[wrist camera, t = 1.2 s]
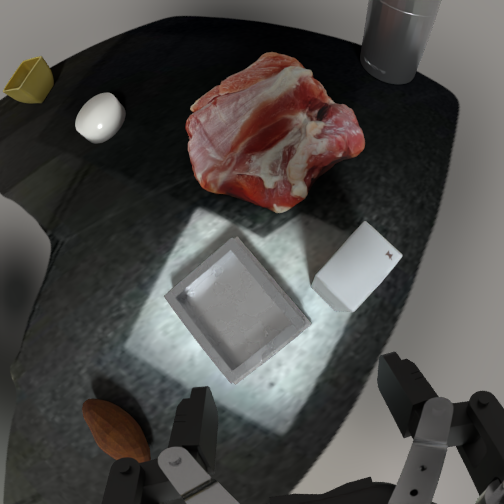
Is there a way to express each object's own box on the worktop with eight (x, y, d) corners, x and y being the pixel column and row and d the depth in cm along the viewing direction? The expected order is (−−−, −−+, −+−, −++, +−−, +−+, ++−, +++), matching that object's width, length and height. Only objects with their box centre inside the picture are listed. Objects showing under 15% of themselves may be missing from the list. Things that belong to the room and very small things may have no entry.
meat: (273, 256, 35) (264, 235, 26) (163, 153, 40) (130, 115, 31) (381, 142, 36) (401, 96, 26) (266, 65, 41) (257, 17, 31)
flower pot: (63, 77, 49) (42, 54, 40) (43, 109, 48) (18, 88, 39) (43, 80, 51) (22, 60, 42) (24, 110, 50) (1, 92, 41)
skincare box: (344, 248, 34) (366, 217, 22) (371, 274, 33) (405, 255, 21) (307, 287, 34) (313, 274, 22) (335, 313, 33) (354, 314, 21)
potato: (107, 381, 35) (78, 390, 29) (171, 441, 32) (149, 460, 26) (90, 408, 35) (61, 419, 28) (149, 465, 32) (126, 485, 26)
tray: (238, 237, 36) (232, 230, 33) (311, 323, 33) (313, 324, 30) (168, 296, 36) (158, 295, 33) (236, 383, 33) (230, 389, 30)
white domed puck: (115, 97, 44) (105, 85, 41) (133, 118, 43) (123, 106, 39) (81, 128, 44) (70, 118, 41) (96, 152, 42) (83, 142, 39)
